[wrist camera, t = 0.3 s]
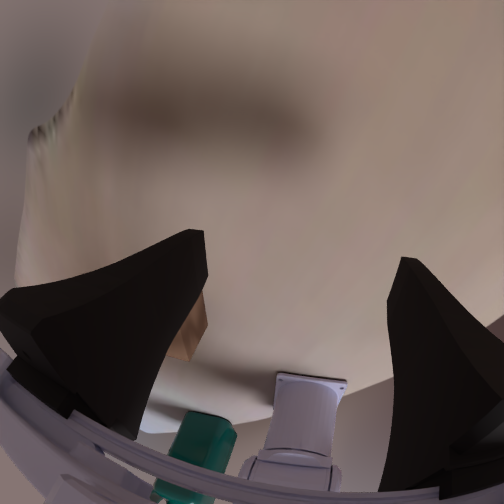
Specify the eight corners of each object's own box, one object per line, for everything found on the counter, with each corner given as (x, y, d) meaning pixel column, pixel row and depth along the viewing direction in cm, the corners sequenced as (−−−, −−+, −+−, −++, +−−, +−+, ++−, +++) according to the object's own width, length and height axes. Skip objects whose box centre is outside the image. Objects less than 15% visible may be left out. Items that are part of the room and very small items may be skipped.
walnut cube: (208, 324, 29) (189, 361, 24) (165, 314, 30) (143, 348, 26) (202, 286, 26) (178, 325, 22) (155, 278, 27) (128, 311, 23)
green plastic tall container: (229, 417, 40) (183, 534, 22) (240, 436, 44) (203, 537, 27) (177, 406, 43) (127, 509, 25) (193, 426, 47) (152, 518, 30)
